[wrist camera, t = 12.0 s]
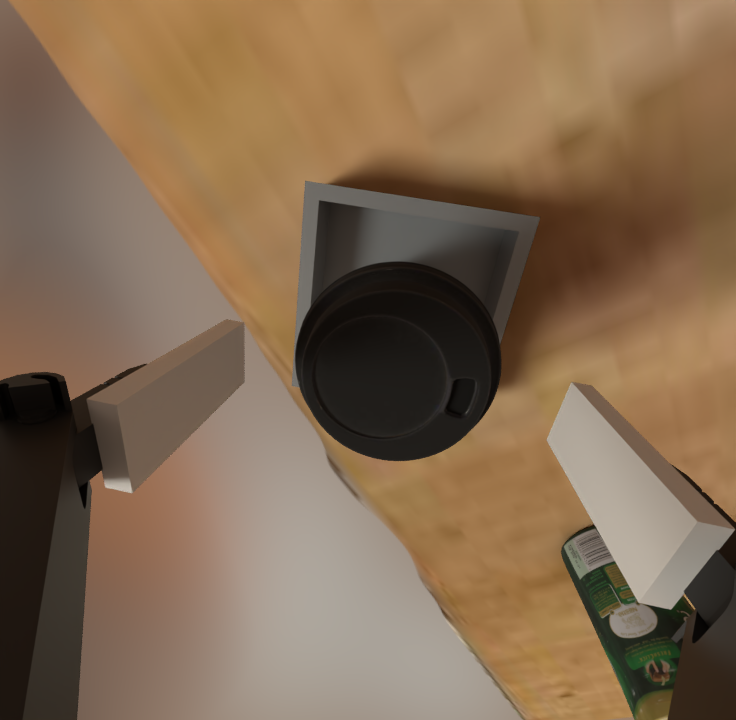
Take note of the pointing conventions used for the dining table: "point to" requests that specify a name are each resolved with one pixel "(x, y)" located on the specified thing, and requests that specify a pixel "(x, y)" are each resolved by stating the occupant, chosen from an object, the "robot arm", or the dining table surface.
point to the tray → (410, 244)
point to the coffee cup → (398, 360)
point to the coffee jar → (627, 626)
